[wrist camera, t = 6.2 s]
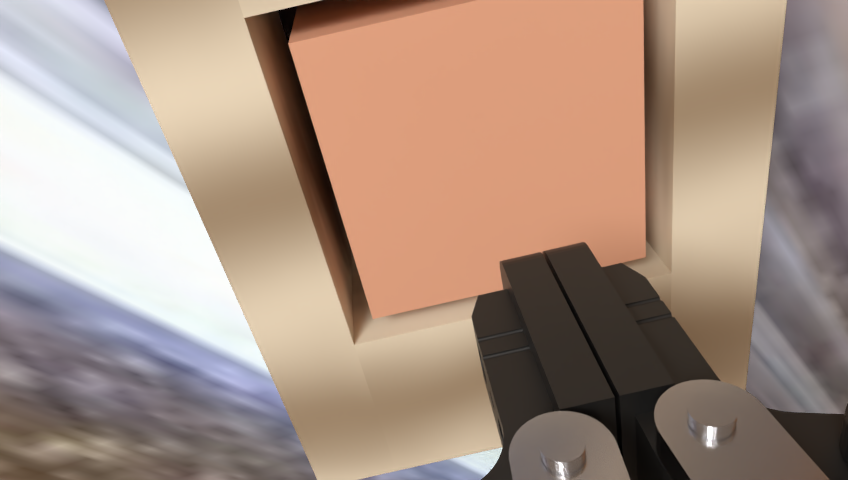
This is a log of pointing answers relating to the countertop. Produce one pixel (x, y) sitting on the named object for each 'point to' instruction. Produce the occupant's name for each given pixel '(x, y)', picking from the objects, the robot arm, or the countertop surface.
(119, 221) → the countertop surface
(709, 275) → the button housing
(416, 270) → the button
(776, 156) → the countertop surface
